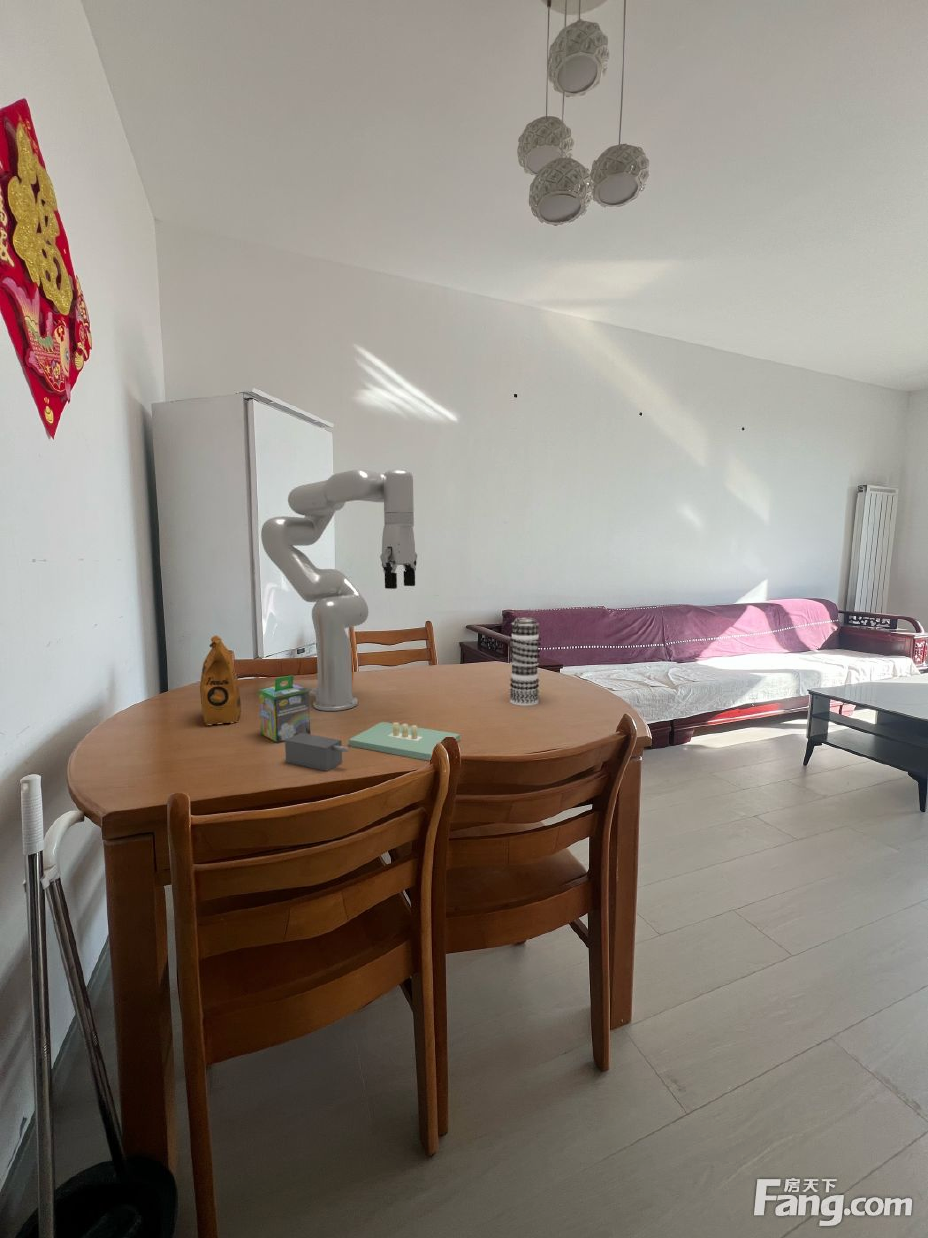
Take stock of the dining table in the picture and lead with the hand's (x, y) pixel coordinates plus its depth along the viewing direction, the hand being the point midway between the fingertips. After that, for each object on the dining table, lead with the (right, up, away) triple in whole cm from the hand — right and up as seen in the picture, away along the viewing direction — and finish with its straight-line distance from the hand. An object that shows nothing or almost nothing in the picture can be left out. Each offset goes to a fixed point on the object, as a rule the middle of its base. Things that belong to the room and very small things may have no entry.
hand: (400, 587), depth 141 cm
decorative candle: (+34, -33, +20) cm, 52 cm away
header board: (+3, -38, -13) cm, 40 cm away
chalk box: (-28, -37, -7) cm, 47 cm away
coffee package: (-49, -35, +4) cm, 60 cm away
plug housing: (-14, -39, -25) cm, 49 cm away
